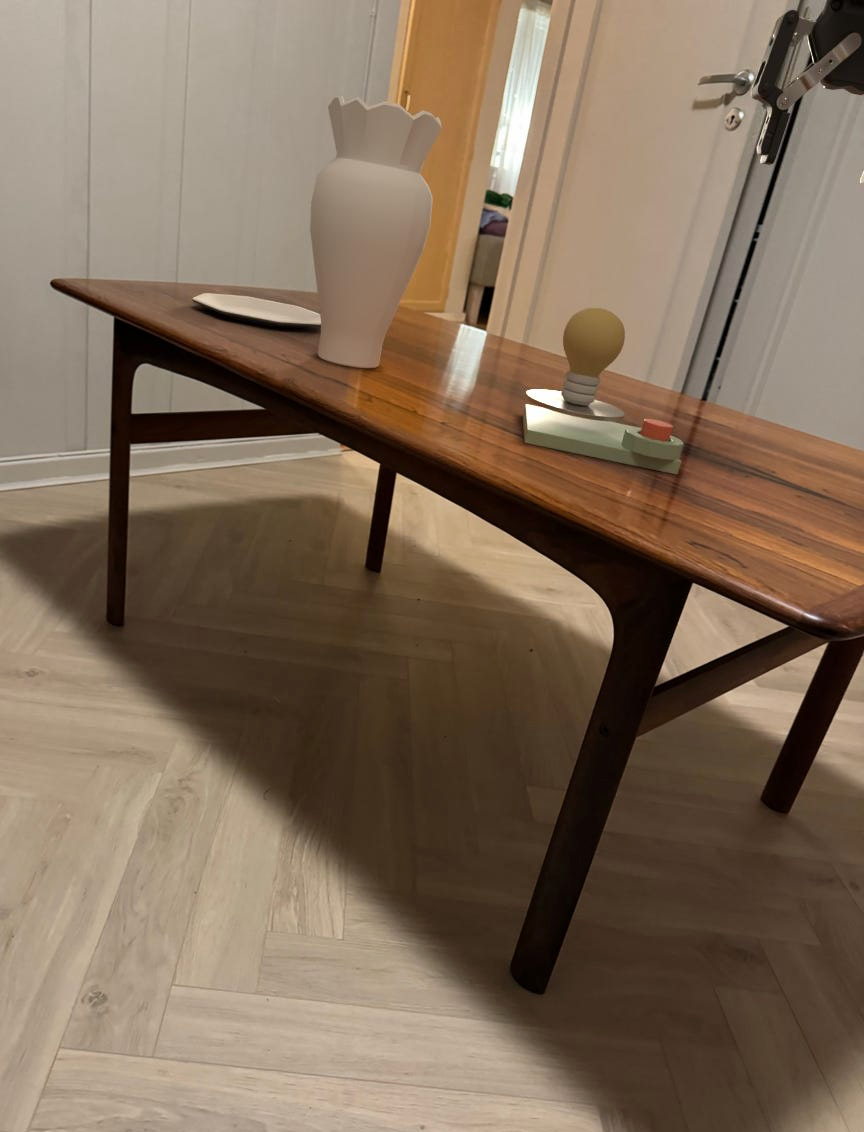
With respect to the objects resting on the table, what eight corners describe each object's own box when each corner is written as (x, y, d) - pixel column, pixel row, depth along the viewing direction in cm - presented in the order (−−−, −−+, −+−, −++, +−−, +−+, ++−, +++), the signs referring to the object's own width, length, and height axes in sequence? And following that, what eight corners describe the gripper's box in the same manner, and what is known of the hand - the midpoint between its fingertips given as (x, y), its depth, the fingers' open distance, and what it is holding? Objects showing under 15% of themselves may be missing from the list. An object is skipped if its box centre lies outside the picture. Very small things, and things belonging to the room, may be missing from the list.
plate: (170, 300, 137) (171, 289, 136) (276, 308, 150) (277, 298, 149) (243, 330, 124) (244, 318, 124) (351, 335, 137) (353, 325, 137)
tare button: (665, 439, 95) (670, 422, 94) (670, 445, 92) (675, 429, 91) (637, 433, 95) (642, 416, 94) (641, 439, 92) (646, 422, 91)
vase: (317, 343, 125) (350, 104, 113) (416, 367, 122) (462, 124, 110) (273, 354, 113) (305, 85, 100) (383, 381, 110) (431, 108, 97)
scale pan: (618, 407, 105) (619, 403, 104) (629, 427, 95) (630, 423, 95) (524, 388, 105) (525, 384, 105) (526, 406, 95) (527, 401, 95)
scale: (657, 443, 105) (665, 418, 104) (678, 477, 92) (688, 448, 91) (522, 415, 106) (529, 390, 105) (524, 444, 92) (531, 415, 91)
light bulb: (536, 393, 100) (559, 299, 96) (580, 397, 104) (605, 306, 99) (571, 409, 96) (597, 310, 91) (616, 412, 99) (644, 317, 94)
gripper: (821, -95, 66) (743, 155, 73) (1018, -59, 65) (920, 189, 72) (792, -66, 72) (723, 160, 79) (970, -33, 72) (885, 191, 79)
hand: (817, 173), depth 76 cm, fingers open, 8 cm apart
